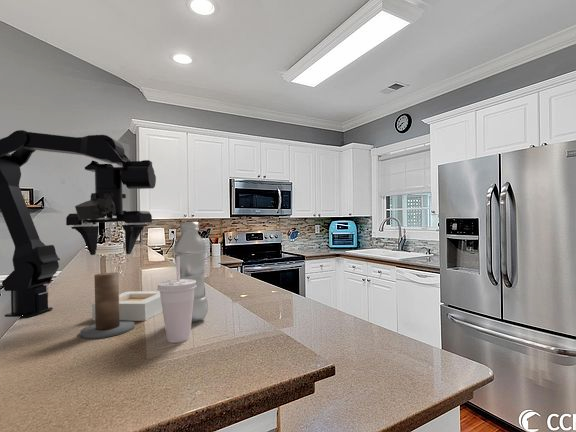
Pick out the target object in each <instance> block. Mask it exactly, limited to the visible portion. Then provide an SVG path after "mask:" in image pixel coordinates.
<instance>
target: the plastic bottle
mask: <svg viewBox="0 0 576 432" xmlns="http://www.w3.org/2000/svg"><path fill="white" fill-rule="evenodd" d="M199 231H200V228H199V222H198V221H189V222H188V221H185V222H183V221H182V222H179V232H181V233H180V235H179V237H178V238H177V240H176V242H175V244H174V246H173V255H174V256H173V257H174V261H175V264H176V257H180V279H192V280H195V281H196V287H195V289H194V300H193V310H192V321H191V323H194V322H198V321H201V320H203V319H205V318H206V316H207V314H208V310H209V309H208V308H209V303H208V299H207V298H208V297H207V295H206V294H207V293H206V287H205V286H206V284H205V267H206V266H205V265H206V257H207V256H206V255H207V246H206V242H205V241H204V239H203V238H202V236H200V234H199ZM175 268H176V267H175ZM176 272H177V268H176Z"/></svg>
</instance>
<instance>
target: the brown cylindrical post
mask: <svg viewBox="0 0 576 432" xmlns="http://www.w3.org/2000/svg"><path fill="white" fill-rule="evenodd" d="M93 277H94V303H95V320H94V322H95V323H94V324H96V330H99V331H103V330H110V329H114V328H117V327H119V326H120V318H119V294H120V284H119V283H120V281H119V278H120V277H119V272H103V273H97V274H94V276H93Z"/></svg>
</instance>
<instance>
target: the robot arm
mask: <svg viewBox="0 0 576 432" xmlns="http://www.w3.org/2000/svg"><path fill="white" fill-rule="evenodd" d="M36 151H39V152H41V151H42V152H50V153H51V152H52V153H58V154H59V153H60V154H68V155H77V156H78V155H79V156H85V157H88V158H91V159H94V160H91V161H90V162H89V164H87V165H86V166H84V170H85V171H89V172H92V173H94V192H93V193H92V192H91V194H90V200H86V201H84V202H82V203H79V204H77V205H75V206H74V208H75V211H76V213H69V214H68V215H67V216H66V218H65V225H66V226H71V227H70V228H71V229H72V230H75V231H77V232H78V233H79V234H80V236H81V237H82V239H83V241H84V243H85V245H86V247H87V249H88V252H89V254H90V256H95V255H96V253H97V248H98V239H99V238H98V237H99V228H100V226H99V225H96V224H97V223H114V222H115V223H120V222H122V223H123V222H124V223H125V224H122V225H121V226H122V228H123V230H124V232H125V233H124V235H125V240H124V241H125V254H126V255H130V254H132V251H133V249H134V247H135V244H136V243H137V240H138V237H140V234H141V232H142V231H143V229H144V228H145V227H148V224H150V223H153V217H152V214H151V212H150V211H149V210H130V211H129V210H124V209H123V208H124V206H123V205H124V203H123V200H124V199H126V197H127V194H126V193H123V186H126V188H127V189H129V190H142V189H143V190H144V189H145V190H146V189H148V190H149V189H150V190H151V189H155V187H156V183H157V178H156V177H157V176H156V174H155V169H154V167H153V162H152V160H149V159H144V160H134V161H133V160H131V159H130V158H129V157H128V156H127V155H126V153H125V148H124V146H123V145H122V143H121V142H119V141H118V140H116V139H114V138H113V137H110V136H109V135H107V134H91V135H89V134H88V135H86V136H85V135H84V136H81V137H80V136H79V137H78V136H77V137H76V136H69V135H68V136H67V135H59V134H52V133H51V134H49V133H41V132H32V131H27V130H23V129H20V130H15V131H13V132H12V133H10V134H9V135H8V136H4V137H2V138H0V212H1V215H2V217H3V219H4V222H5V225H6V227H7V230H8V233H9V234H10V235H9V236H10V237H11V240H12V242H13V246H14V251H13V255H12V266H13V271H11V272H10V274H9V275H7V276H6V277H5V278H4V280H2V281H1V284H2V288H3V290H4V291H5V292H10V309H11V311H10V313H5V314H4V317H5V318H17V317H18V318H19V317H20V318H22V317H23V318H28V317H33V316H36V315H39V314H43V313H46V312H49V311H51V310H53V309H54V308H53V307H52V306H51V307H49V293H48V291H47V284H51V282H52V281H53V280H52V279H53V277H54V276H55V275H56V274H57V271H58V269H59V266H60V263H59V261H61V258H60V257H59V256H58V254H57V253H56V248H55V245H53V244H47V245H46V244H45V243H44V242H42V239H40V236H39V233H38V231H37V229H36V226H35V224H34V221H33V219H32V216H31V213H30V210H29V208H28V205H27V203H26V200H25V198H24V195H23V192H22V191H21V187H20V182H21V177H22V171H21V167H23V165H25V164H26V163H28V161H29V160H30V158H31V157H32V154H33V153H35V152H36ZM95 160H98V161H101V162H105V163H99V162H98V161H95ZM113 164H116V165H118V166H117V167H115V166H113ZM147 223H148V224H147ZM95 225H96V226H95ZM22 315H23V316H22ZM21 316H22V317H21Z"/></svg>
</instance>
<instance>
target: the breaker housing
mask: <svg viewBox="0 0 576 432" xmlns="http://www.w3.org/2000/svg"><path fill="white" fill-rule="evenodd" d="M129 299H144V300H142V301H126V300H129ZM161 313H163V310H162V304H161V297H160V291H158V290H157V291H152V290H150V291H140V290H139V291H125V292H122V293H119V318H120V320H130V321H133V322H134V321H137V322H138V321H140V322H142V321H145V322H147V320H150V319H152V318H154V317H155V316H157V315H159V314H161ZM91 316H92V321H95V302H94V303H91Z"/></svg>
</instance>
